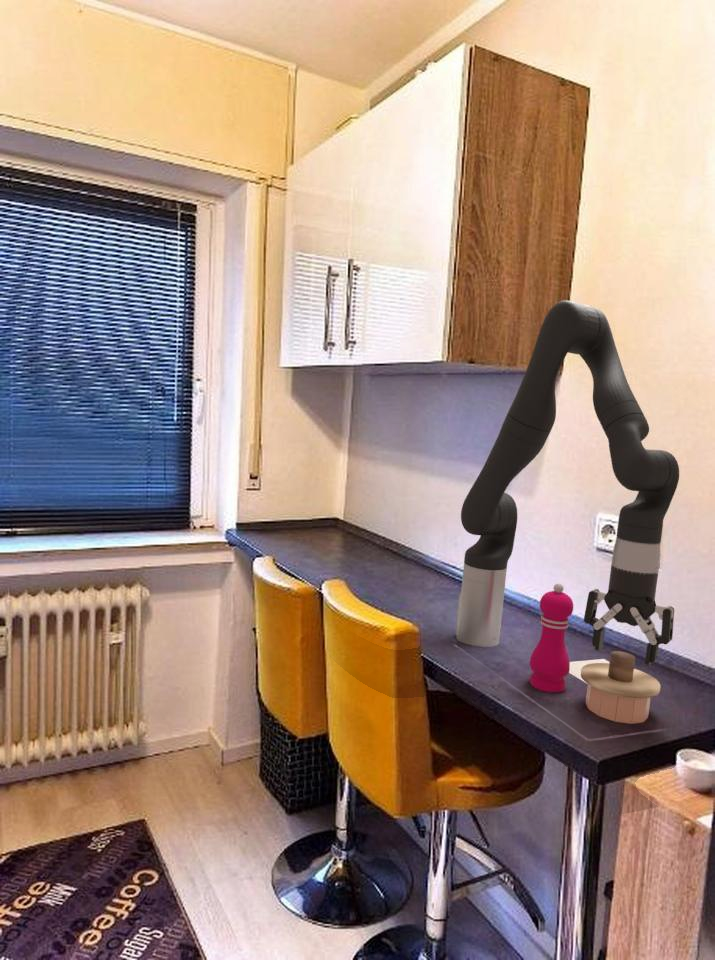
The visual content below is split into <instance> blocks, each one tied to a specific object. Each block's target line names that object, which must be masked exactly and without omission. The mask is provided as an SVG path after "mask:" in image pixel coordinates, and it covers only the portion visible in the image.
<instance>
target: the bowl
mask: <svg viewBox="0 0 715 960" xmlns="http://www.w3.org/2000/svg"><path fill="white" fill-rule="evenodd" d="M586 688H587V689H586V696H585V705H586V707H587V709H588V710H589V711H590V712H592V713H593V714H595V715H597V716H598V717H600V718H604V719H606V720H610V721H613V722H616V723H621V724H622V723H623V724H629V725H630V724H631V725H632V724H641V723H644V722H646V720H647V719H648V718H649V712H650V705H651V698H652V697H650V698H630V697H623V696H618V695H614V694H610V693H607V692H604V691H601V690H599V689H597V688H595V687H593V686H591V685H589V684H587V687H586Z"/></svg>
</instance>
